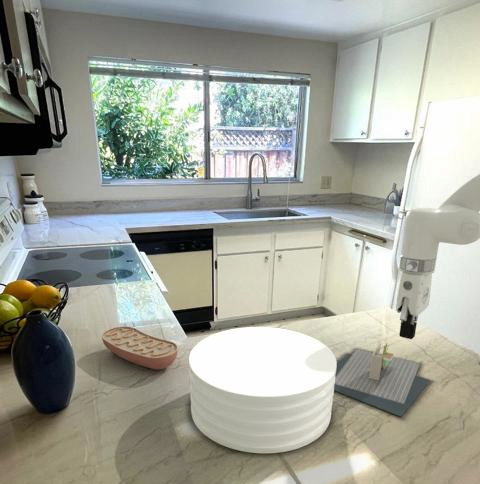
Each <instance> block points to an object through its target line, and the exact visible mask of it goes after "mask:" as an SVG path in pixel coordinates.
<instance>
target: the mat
mask: <svg viewBox="0 0 480 484" xmlns="http://www.w3.org/2000/svg"><path fill="white" fill-rule="evenodd" d="M352 355H353V353H352V354H351V353H347V354H346V355H344V356H343V357H342V358H341V359H340V360H338V361H336V362H337V367H336V374H335V377H336V376H337V374H338V373H339V372H340V370H341V369H342V368H343V366H344V365H345V364H346V363H347V361H348V360H349V359H350V357H351V356H352ZM430 381H431V380H430V379H428V378H425V377H422V376H419V375H415V377H414V380H413V382H412V385H411V387H410V390H409V392H408V395H407V397H406V399H405V402H404V404H402V403H399V402H395V401H392V400H389V399H385V398H382V397H378V396H375V395H371V394H368V393H364V392H361V391H358V390H354V389H351V388H347V387H344V386H340V385H337V384H334V392H336V393H339V394H341V395H344V396H346V397H348V398H351V399H354V400H357V401H359V402H362V403H364V404H366V405H369V406H371V407H374V408H376V409H379V410H382V411H384V412H386V413H388V414H392V415H394V416H397V417H399V418H402V417H403V416H404V415H405V413H406V412H407V411H408V410H409V408H410V407H411V405H412V404H413V403H414V402H415V400H416V399H417V398H418V397H419V395H420V394H421V393H422V392H423V391H424V389H425V388H426V387H427V386H428V384H429V383H430Z"/></svg>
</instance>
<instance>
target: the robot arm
mask: <svg viewBox="0 0 480 484" xmlns="http://www.w3.org/2000/svg"><path fill="white" fill-rule="evenodd" d="M403 228H404V229H403V236H402V244H401V251H400V259H399V266H398V270H399V271H400V272H401V274H400V279H399V285H398V289H397V290H398V291H397V297H396V304H395V311H396V313H398V314H400V316H399V320H400V328H399V337H401V338H404V339H407V340H413V339H414V338H415V336H416V330H417V323H418V322H417V321H418V318H419V315H420V314H422V313H423V312H424V311H425V310H426V309H427V308H428V307H429V305H430V298H431V290H432V282H433V281H432V278H433V274H434V273H435V270H436V264H437V258H438V252H439V245H440V243H441V244H442V243H443V244H451V245H457V246H458V245H459V246H462V245H463V246H464V245H470V244H473V243H475V242H477V241H478V240H480V173H478V174H477V175H475V176H474V177H472V178H471V179H468V181H467V182H465V183H464V184H462V185H461V186H460V187H459V188H457V190H455V192H453V193H452V194H451V195H450V196H449V197H448V198H447V199H446V200H445V201H444V202H442V203H441V205H440V206H439V207H438V208H432V207H414V208H411V209H409V210H408V211H407V212H406V214H405V220H404V227H403Z"/></svg>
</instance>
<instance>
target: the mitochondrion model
mask: <svg viewBox="0 0 480 484" xmlns="http://www.w3.org/2000/svg"><path fill="white" fill-rule="evenodd" d="M101 340H102V343H103V345H104V347H105V348H107V349H108V350H109V351H111V352H112V353H113V354H115V355H117V356H118V357H119V358H122V359H123V360H125V361H128V362H130V363H133V364H136V365H138V366H141V367H145V368H149V369H152V370H164V369H167V368H169V367H171V366H172V364H173V363H174V362H175V360H176V359H177V356H178V353H179V347H178V345H177V344H176V343H175V342H173V341H171V340H166V339H162V338H159V337H156V336H153V335H150V334H147V333H145V332H143V331H141V330H139V329H137V328H135V327H132V326H117V327H113V328H110V329H107V330H105V331H104V332H103V333H101Z"/></svg>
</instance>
